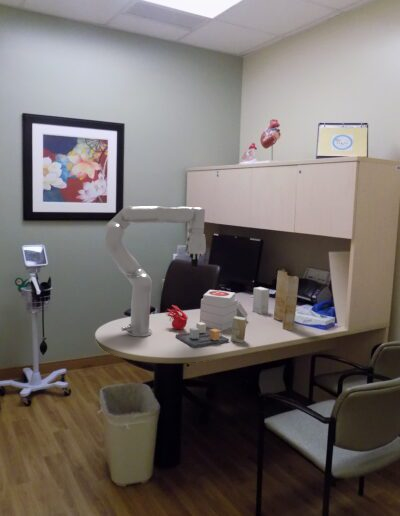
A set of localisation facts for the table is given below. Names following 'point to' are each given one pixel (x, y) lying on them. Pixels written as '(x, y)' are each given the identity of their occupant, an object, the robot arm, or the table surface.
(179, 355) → the table surface
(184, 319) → the heart organ
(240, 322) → the skincare box
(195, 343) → the panel
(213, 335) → the orange slider
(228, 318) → the pizza boxes
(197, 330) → the grey slider
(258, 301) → the skincare box
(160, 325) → the table surface
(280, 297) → the parchment
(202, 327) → the ivory slider
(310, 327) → the table surface
